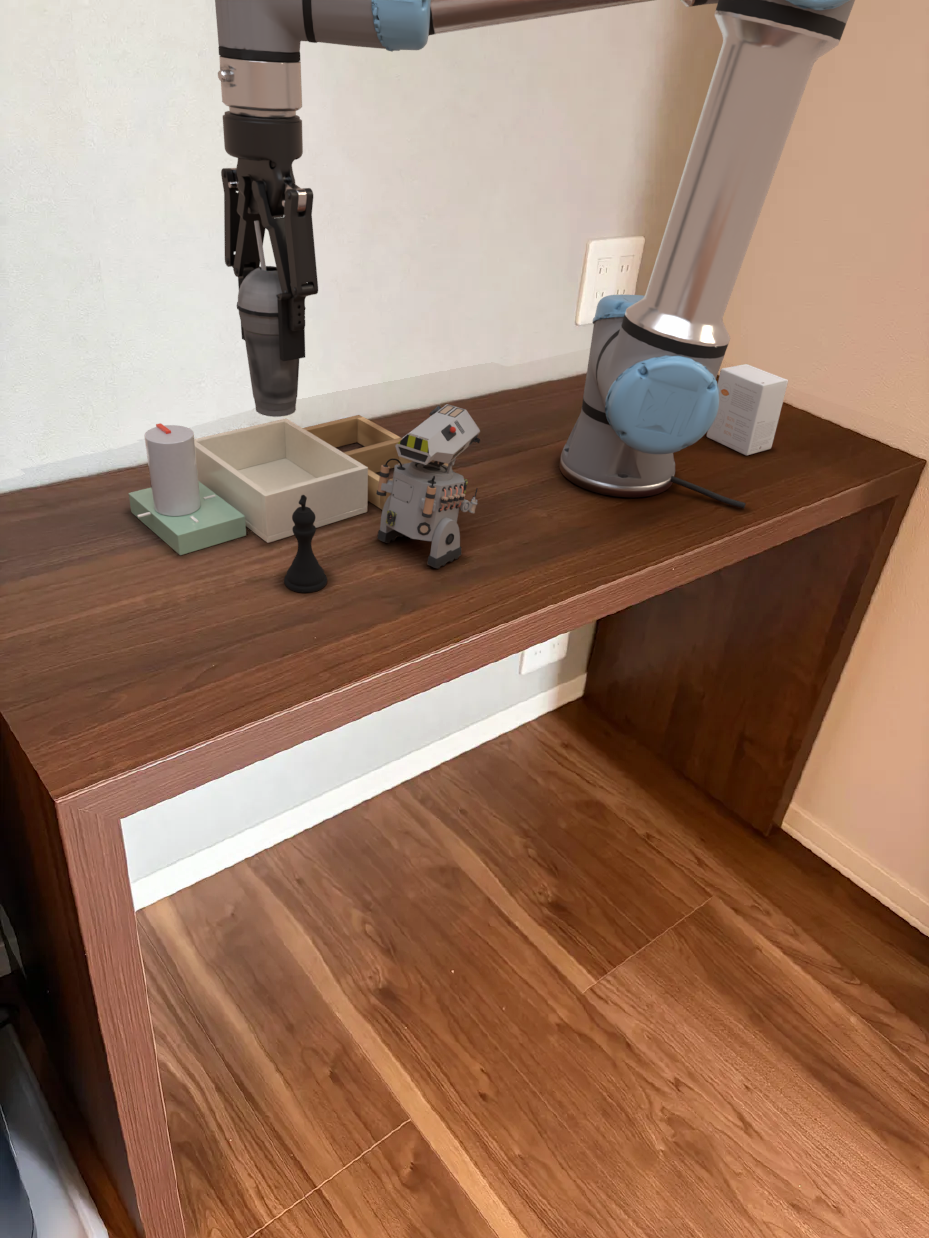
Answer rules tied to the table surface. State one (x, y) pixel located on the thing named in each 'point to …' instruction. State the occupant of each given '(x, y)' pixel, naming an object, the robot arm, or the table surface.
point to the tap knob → (173, 469)
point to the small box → (747, 408)
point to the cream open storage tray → (281, 476)
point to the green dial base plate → (191, 521)
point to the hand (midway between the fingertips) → (272, 347)
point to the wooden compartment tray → (372, 455)
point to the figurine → (429, 484)
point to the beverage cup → (266, 341)
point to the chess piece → (304, 554)
